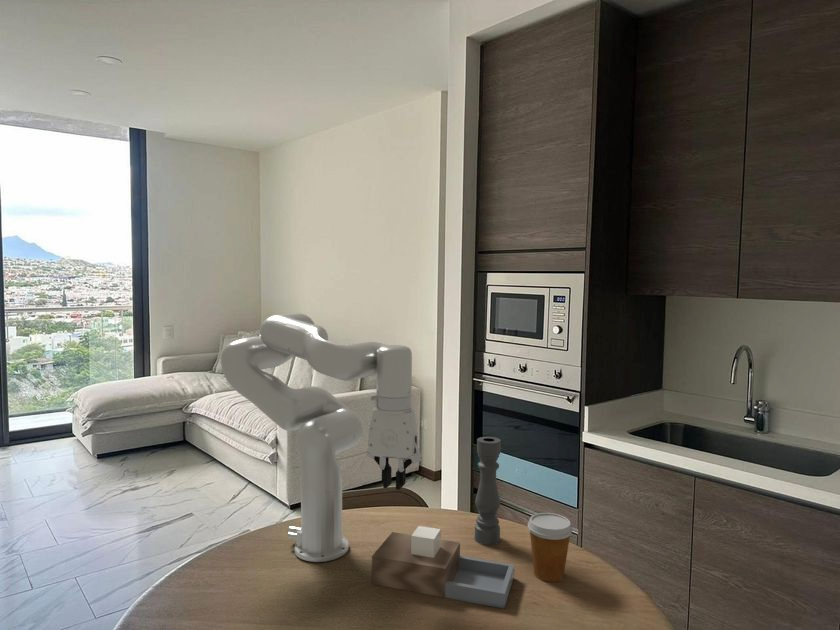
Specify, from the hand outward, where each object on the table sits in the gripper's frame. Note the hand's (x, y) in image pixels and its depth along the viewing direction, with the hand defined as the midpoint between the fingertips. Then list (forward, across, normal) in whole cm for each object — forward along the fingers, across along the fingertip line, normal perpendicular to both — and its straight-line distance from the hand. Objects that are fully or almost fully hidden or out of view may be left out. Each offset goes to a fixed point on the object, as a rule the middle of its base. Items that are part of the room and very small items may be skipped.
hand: (393, 486), depth 123 cm
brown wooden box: (+19, +6, 0) cm, 20 cm away
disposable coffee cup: (+19, +32, +10) cm, 39 cm away
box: (+19, +20, 0) cm, 27 cm away
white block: (+13, +8, 0) cm, 15 cm away
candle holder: (+19, +16, +22) cm, 34 cm away
